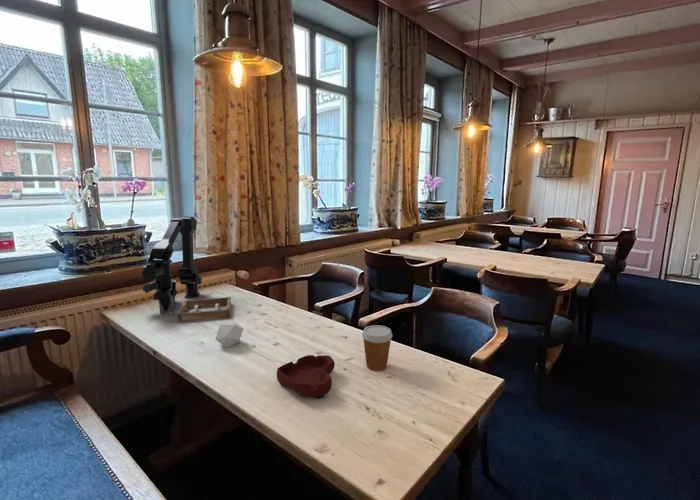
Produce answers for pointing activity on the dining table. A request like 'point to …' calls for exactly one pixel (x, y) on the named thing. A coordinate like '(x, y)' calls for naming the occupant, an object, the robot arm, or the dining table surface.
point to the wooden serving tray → (204, 314)
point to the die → (229, 333)
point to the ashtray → (308, 375)
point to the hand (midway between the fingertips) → (167, 308)
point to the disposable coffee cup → (377, 346)
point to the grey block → (170, 308)
